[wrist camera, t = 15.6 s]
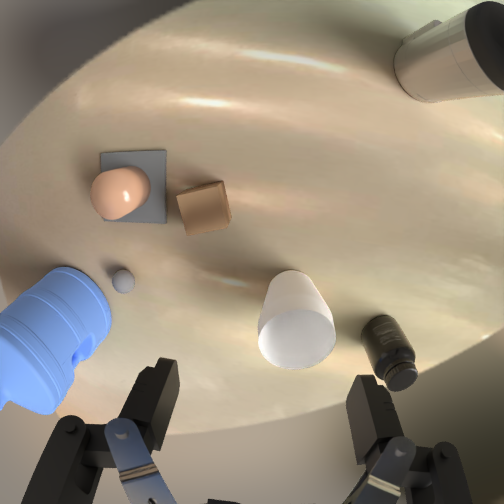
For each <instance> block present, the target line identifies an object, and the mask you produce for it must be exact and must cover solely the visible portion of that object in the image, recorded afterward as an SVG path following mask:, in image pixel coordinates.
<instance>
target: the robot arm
mask: <svg viewBox="0 0 504 504" xmlns="http://www.w3.org/2000/svg"><path fill="white" fill-rule="evenodd" d="M394 69H395V74H396V76H397V79H398V81H399V83H400V84H401V86H402V87H403V88H404V90H405V91H406V92H407V93H408V94H409V95H410V96H412V97H413V98H415V99H416V100H419V101H421V102H425V103H434V102H442V101H448V100H456V99H464V98H473V97H483V96H494V95H504V5H503V4H500V3H498V2H493V1H486V2H482V3H480V4H477V5H475V6H473V7H472V8H470V9H468V10H466V11H464V12H462V13H460V14H458V15H456V16H454V17H452V18H450V19H449V20H447V21H445V22H440V21H438V20H433V21H432V22H430V23H428V24H427V25H425V26H423V27H422V28H420V29H419V30H417V31H415V32H414V33H412V34H411V35H409V36H408V37H406V38H405V39H403V45H402V46H401V47H400V48H399V49H398V51H397V53H396V54H395V58H394ZM179 387H180V382H179V374H178V365H177V361H176V360H173V359H167V358H161V357H160V358H159V359H158V361H157V363H156V366H155V368H154V367H149V366H147V367H146V368H145V369H144V370H143V371H141V372H140V373H139V375H138V377H137V379H136V381H135V383H134V385H133V387H132V390H131V392H130V394H129V396H128V398H127V400H126V402H125V404H124V406H123V408H122V410H121V413H120V415H119V416H118V417H117V418H115V419H113V420H111V421H109V422H108V423H107V424H101V425H100V424H85V423H84V421H83V420H82V419H81V418H79V417H77V416H74V415H68V416H65V417H63V418H61V419H60V420H59V421H58V422H57V425H56V426H55V428H54V430H53V432H52V434H51V436H50V438H49V440H48V443H47V445H46V447H45V449H44V451H43V453H42V455H41V457H40V460H39V462H38V464H37V466H36V469H35V471H34V473H33V475H32V478H31V480H30V482H29V485H28V487H27V490H26V492H25V495H24V497H23V500H22V502H21V504H92V503H93V499H94V496H95V493H96V490H97V486H98V483H99V480H100V477H101V474H102V471H103V468H117V469H118V472H119V474H120V476H119V478H120V481H121V483H122V486H123V488H124V490H125V493H126V495H127V497H128V499H129V501H130V503H131V504H177V502H176V501H175V499H174V497H173V496H172V494H171V492H170V490H169V489H168V487H167V485H166V483H165V482H164V480H163V478H162V476H161V474H160V472H159V470H158V469H157V467H156V465H155V464H154V462H153V460H152V458H151V453H152V451H153V450H157V451H160V450H161V446H162V444H163V440H164V437H165V434H166V431H167V428H168V425H169V422H170V419H171V415H172V412H173V409H174V406H175V403H176V400H177V397H178V394H179ZM346 409H347V414H348V419H349V423H350V429H351V433H352V439H353V444H354V449H355V455H356V460H357V465H361V464H366V470H365V471H364V473H363V474H362V476H361V477H360V479H359V481H358V482H357V484H356V485H355V487H354V488H353V490H352V491H351V492H350V494H349V495H348V497H347V498H346V499H345V501H344V502H343V503H342V504H396V502H397V500H398V499H399V497H400V494H401V491H399V489H400V487H404V488H405V494H406V500H407V504H473V503H472V499H471V495H470V492H469V488H468V484H467V480H466V477H465V473H464V470H463V467H462V464H461V461H460V457H459V454H458V451H457V449H456V447H455V446H454V445H452V444H451V443H449V442H440V443H438V444H437V445H435V447H434V448H428V447H419V446H415V444H414V443H413V441H412V440H410V439H408V438H407V437H405V436H404V434H403V431H402V428H401V425H400V422H399V419H398V416H397V413H396V411H395V407H394V404H393V403H392V398H391V396H390V393H389V392H388V391H387V389H386V388H385V387H384V386H383V385H377V382H376V379H375V376H374V375H357V376H356V378H355V380H354V382H353V385H352V387H351V389H350V391H349V394H348V396H347V400H346ZM206 504H240V503H236V502H230V501H222V500H214V499H208V503H206Z"/></svg>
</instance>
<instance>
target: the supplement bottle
mask: <svg viewBox="0 0 504 504" xmlns="http://www.w3.org/2000/svg"><path fill="white" fill-rule="evenodd" d="M361 340H362V343H363V346H364V348H365V351H366V353H367V356H368V358H369V361H370V363H371V366H372V368H373V371H374V373H375V375H376V376H377V377H378V378H379V379H381V380H384V381H385V383H386V385H387V387H388V389H389V390H391V391H394V392H396V391H401V390H404V389H406V388H408V387H409V386H411V385H412V384H413V383H414V382H415V380H416V379H417V376H418V371H417V369H416V367H415V364H414V362H415V352H414V350H413V348H412V346H411V344H410V343H409V341H408V339H407V338H406V336H405V334H404V333H403V331H402V329H401V328H400V326H399V324H398V323H397V321H396V320H395V319H394V318H392V317H390V316H380V317H377V318H375V319H373V320H371V321H370V322H369V323H368V324H367V325H366V326H365V327H364V329H363V331H362V334H361Z"/></svg>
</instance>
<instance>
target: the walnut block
mask: <svg viewBox="0 0 504 504" xmlns="http://www.w3.org/2000/svg"><path fill="white" fill-rule="evenodd" d="M176 197H177V201H178V205H179V209H180V212H181V216H182V220H183V223H184V227H185V231H186V234H187V236H189V235H194V234H199V233H204V232H209V231H214V230H219V229H224V228H227V227H228V224H229V222H230V220H231V218H232V217H231V212H230V208H229V204H228V199H227V195H226V191H225V186H224V182H223V181H220V182H216V183H211V184H207V185H202V186H198V187H194V188H190V189H186V190H185V191H183V192H182V193H180V194H179V195H177V196H176Z"/></svg>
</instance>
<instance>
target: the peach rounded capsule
mask: <svg viewBox="0 0 504 504" xmlns="http://www.w3.org/2000/svg"><path fill="white" fill-rule="evenodd" d="M150 192H151V184H150V180H149V178H148V176H147V174H146V173H145V172H144V171H143V170H142V169H140V168H139V167H136V166H127V167H123V168H118V169H114V170H110V171H106V172H103V173H101V174H99V175H98V176H97V177H96V178H95V180H94V181H93V183H92V186H91V192H90V196H91V202H92V205H93V207H94V209H95V210H96V212H97V213H98V214H99V215H100V216H102V217H103V218H105V219H108V220H116V219H119V218H121V217H123V216H124V215H126V214H128V213H130V212H132V211H133V210H135V209H137V208H139V207H141V206H142V205H144V204H145V203H146V201H147V200H148V198H149V196H150Z"/></svg>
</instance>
